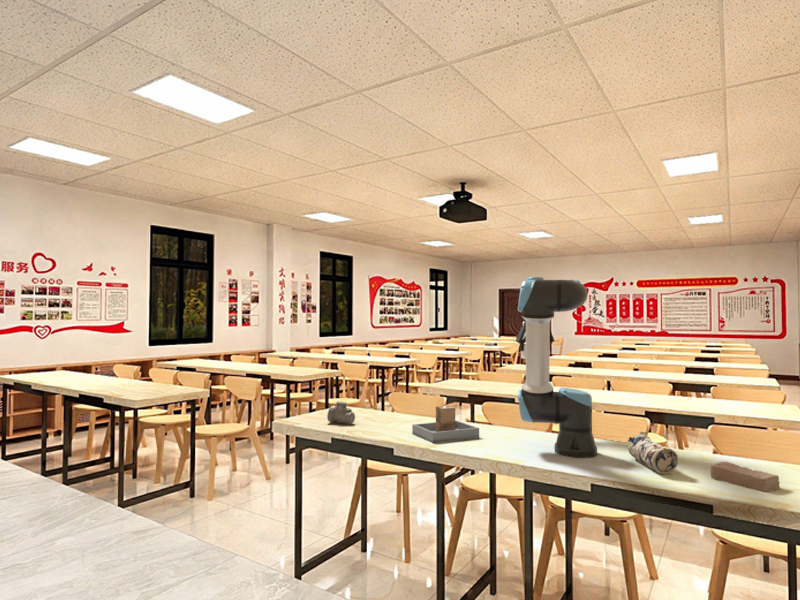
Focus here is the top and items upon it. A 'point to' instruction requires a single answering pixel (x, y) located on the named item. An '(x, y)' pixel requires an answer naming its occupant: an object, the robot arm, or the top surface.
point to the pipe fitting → (341, 414)
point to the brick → (744, 477)
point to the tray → (445, 432)
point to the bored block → (445, 418)
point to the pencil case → (652, 454)
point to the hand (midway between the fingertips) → (535, 358)
